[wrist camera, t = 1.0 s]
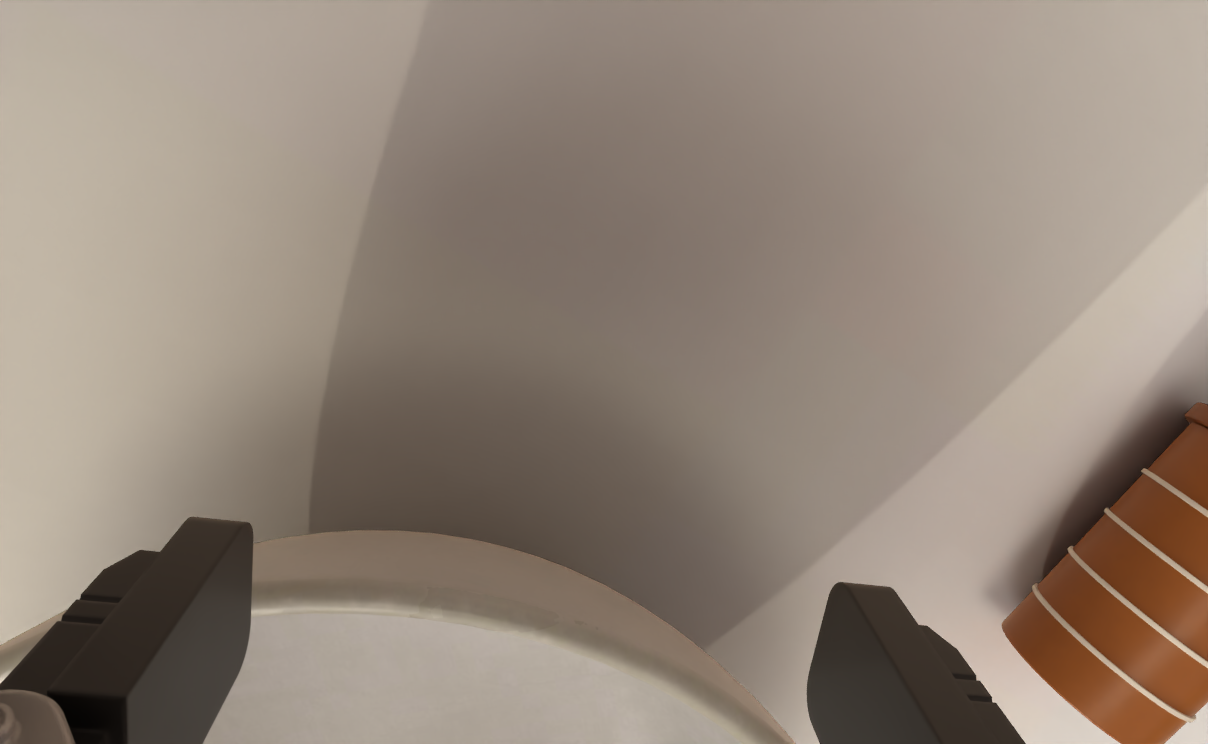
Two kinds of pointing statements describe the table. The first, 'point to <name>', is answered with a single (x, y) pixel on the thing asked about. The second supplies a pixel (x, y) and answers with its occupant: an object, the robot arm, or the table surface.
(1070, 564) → the brown striped cylinder
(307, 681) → the decorative bowl
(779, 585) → the table surface
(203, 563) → the robot arm
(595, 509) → the table surface
